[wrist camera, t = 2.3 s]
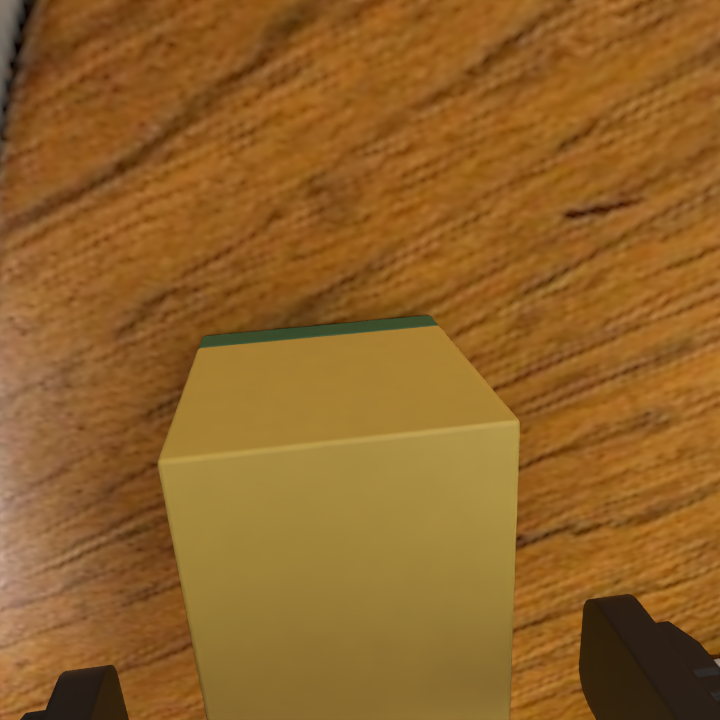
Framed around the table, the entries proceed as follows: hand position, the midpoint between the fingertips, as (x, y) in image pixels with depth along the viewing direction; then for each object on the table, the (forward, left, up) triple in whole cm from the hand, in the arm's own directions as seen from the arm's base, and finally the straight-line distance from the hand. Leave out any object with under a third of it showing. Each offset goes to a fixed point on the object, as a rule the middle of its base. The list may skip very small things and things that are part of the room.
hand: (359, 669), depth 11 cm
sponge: (0, 0, -5) cm, 5 cm away
